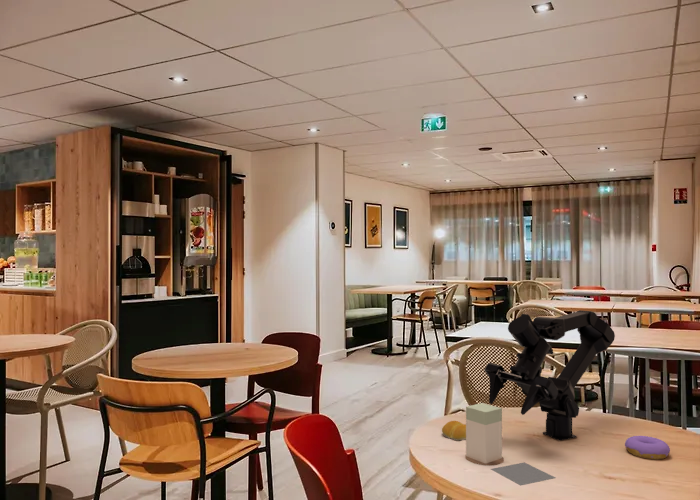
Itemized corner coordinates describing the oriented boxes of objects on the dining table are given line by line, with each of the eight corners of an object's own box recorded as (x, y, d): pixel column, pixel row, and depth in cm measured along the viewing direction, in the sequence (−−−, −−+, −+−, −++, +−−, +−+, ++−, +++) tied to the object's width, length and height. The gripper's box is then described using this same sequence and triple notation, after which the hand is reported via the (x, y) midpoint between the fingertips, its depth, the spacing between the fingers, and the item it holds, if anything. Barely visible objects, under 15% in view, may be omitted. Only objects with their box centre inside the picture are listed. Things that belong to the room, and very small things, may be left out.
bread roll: (463, 444, 146) (463, 429, 146) (437, 436, 153) (437, 421, 153) (482, 437, 151) (482, 422, 151) (455, 429, 158) (455, 415, 158)
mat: (524, 464, 132) (524, 462, 132) (556, 479, 122) (556, 477, 122) (490, 470, 127) (490, 468, 127) (520, 487, 118) (520, 485, 118)
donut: (669, 449, 141) (669, 432, 140) (670, 469, 133) (670, 451, 132) (625, 443, 146) (625, 426, 145) (624, 462, 138) (624, 444, 137)
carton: (482, 451, 139) (482, 402, 139) (501, 458, 134) (501, 408, 134) (466, 456, 135) (466, 406, 135) (485, 463, 130) (485, 412, 130)
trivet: (487, 451, 140) (487, 448, 140) (511, 463, 132) (511, 460, 132) (458, 456, 136) (458, 454, 136) (481, 469, 128) (481, 466, 128)
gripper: (575, 383, 142) (551, 436, 136) (512, 366, 156) (487, 414, 150) (561, 358, 136) (534, 413, 130) (496, 343, 151) (470, 391, 145)
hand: (505, 408), depth 139 cm, fingers open, 9 cm apart
